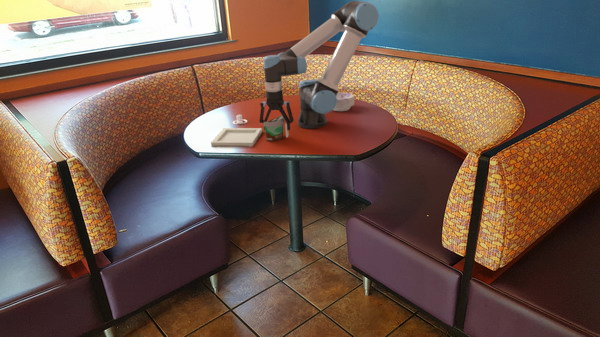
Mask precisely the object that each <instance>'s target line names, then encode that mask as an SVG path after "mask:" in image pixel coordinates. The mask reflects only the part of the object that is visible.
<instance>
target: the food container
mask: <svg viewBox="0 0 600 337" xmlns="http://www.w3.org/2000/svg"><path fill="white" fill-rule="evenodd" d="M285 123H286V121H285V119H284V118H283V116H282V114H281V115H280V114H279V115H278V117H276V118H272V119H270V120H267V122H264V123H262V124H263V125H262V126H263V128H264V127H265V130H264V133H265V138H266V142H271V143H272V142H279V141H282V140H283V139H284V124H285Z"/></svg>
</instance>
